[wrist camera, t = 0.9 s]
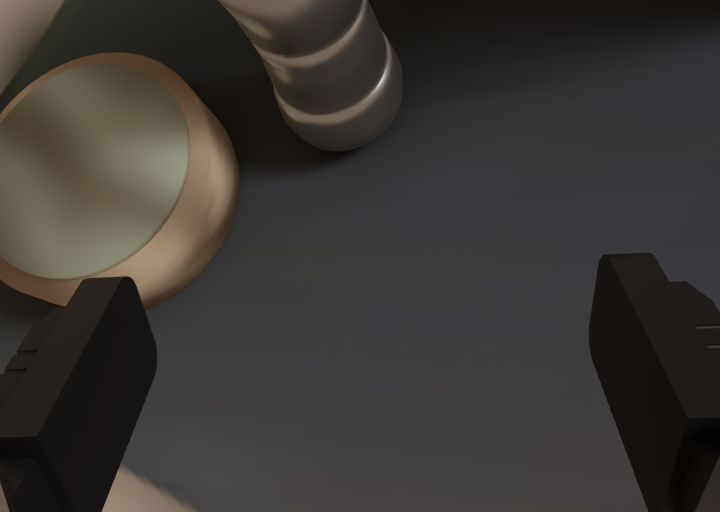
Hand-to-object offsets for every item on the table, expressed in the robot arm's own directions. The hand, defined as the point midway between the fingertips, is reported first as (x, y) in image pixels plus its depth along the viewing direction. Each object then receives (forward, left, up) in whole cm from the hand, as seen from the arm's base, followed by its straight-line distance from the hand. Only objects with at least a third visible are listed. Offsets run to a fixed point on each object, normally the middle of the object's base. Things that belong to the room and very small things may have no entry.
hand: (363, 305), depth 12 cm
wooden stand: (-4, -22, -21) cm, 31 cm away
